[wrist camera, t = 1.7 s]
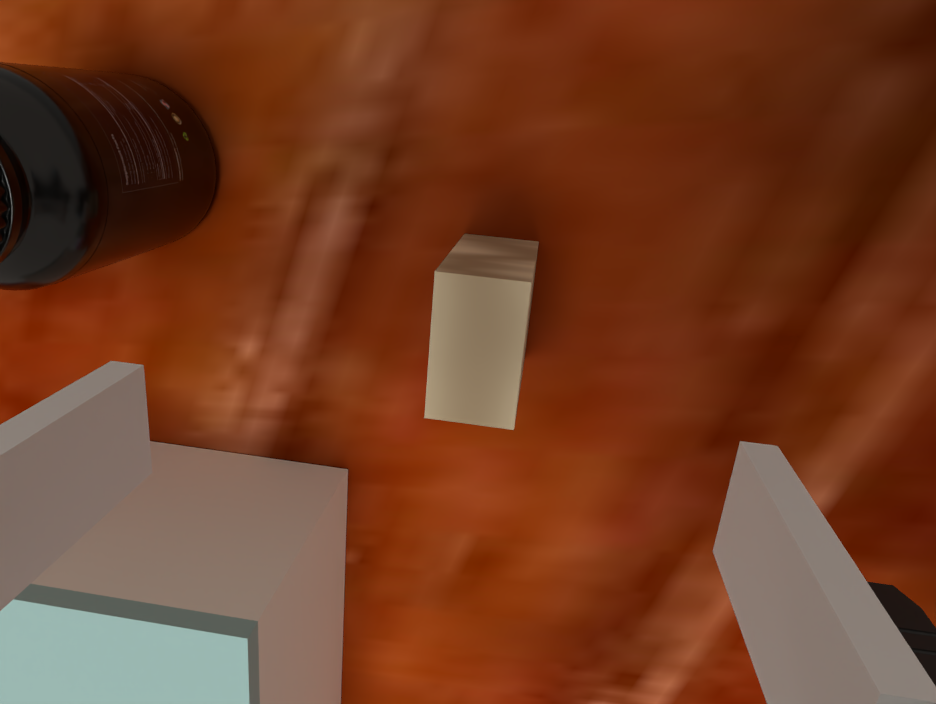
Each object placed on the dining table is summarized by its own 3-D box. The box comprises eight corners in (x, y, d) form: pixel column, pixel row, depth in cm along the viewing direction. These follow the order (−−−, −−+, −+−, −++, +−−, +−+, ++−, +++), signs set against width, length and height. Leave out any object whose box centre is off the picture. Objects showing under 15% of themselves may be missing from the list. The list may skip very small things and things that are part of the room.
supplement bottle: (136, 273, 30) (-114, 369, 19) (35, 133, 29) (-303, 148, 18) (256, 191, 28) (56, 245, 17) (154, 37, 27) (-139, -16, 16)
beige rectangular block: (538, 241, 28) (531, 282, 21) (524, 358, 29) (513, 429, 23) (464, 233, 28) (434, 271, 21) (454, 349, 30) (424, 418, 23)
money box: (348, 469, 32) (247, 638, 22) (339, 755, 38) (257, 992, 28) (124, 437, 33) (-72, 585, 23) (151, 721, 39) (5, 938, 29)
